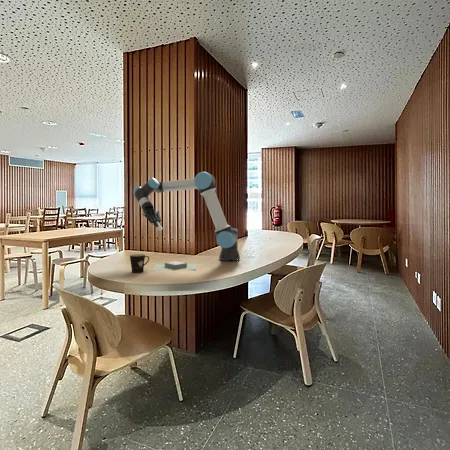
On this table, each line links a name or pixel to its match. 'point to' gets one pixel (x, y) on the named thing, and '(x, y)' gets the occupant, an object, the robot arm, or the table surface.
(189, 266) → the mat
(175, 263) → the slate picture frame
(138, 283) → the table surface
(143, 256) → the coffee mug
